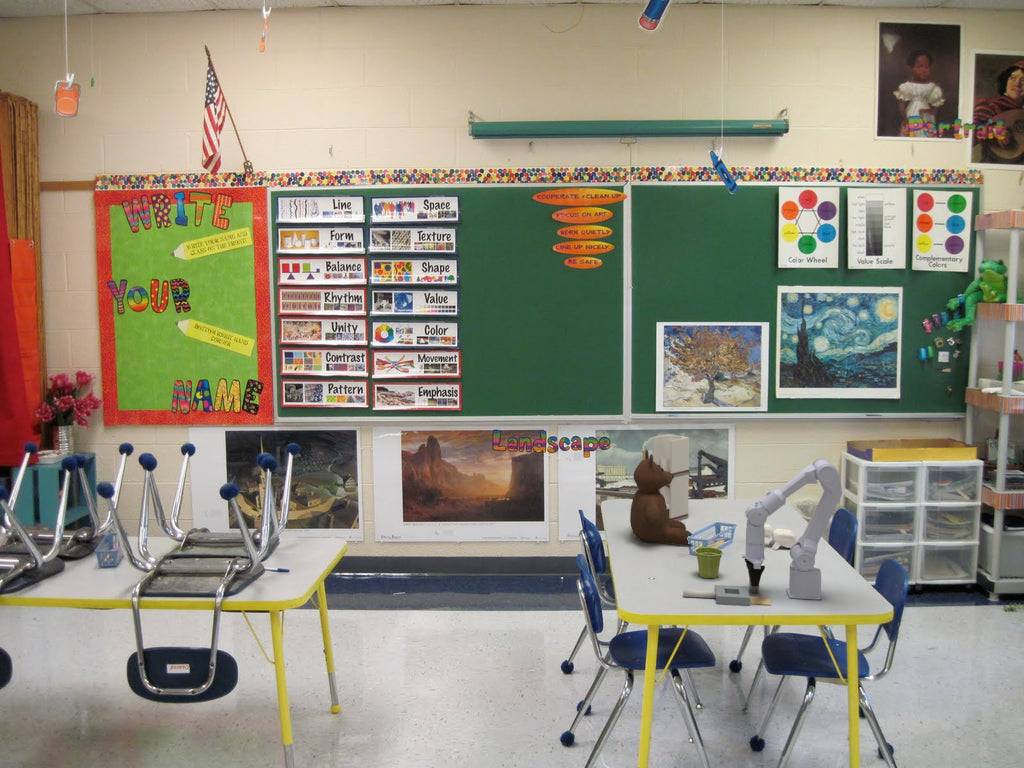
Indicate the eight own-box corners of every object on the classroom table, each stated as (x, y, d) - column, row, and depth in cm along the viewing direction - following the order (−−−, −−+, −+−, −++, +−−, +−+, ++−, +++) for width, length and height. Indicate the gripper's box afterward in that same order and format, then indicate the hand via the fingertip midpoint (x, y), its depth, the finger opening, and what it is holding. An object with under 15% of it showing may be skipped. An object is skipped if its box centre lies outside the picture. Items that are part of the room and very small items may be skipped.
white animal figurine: (791, 552, 321) (753, 536, 322) (800, 532, 319) (762, 516, 321) (795, 559, 312) (756, 543, 314) (804, 538, 311) (765, 522, 313)
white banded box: (668, 513, 366) (669, 434, 362) (688, 518, 358) (689, 437, 354) (651, 518, 359) (652, 437, 355) (670, 523, 351) (672, 440, 347)
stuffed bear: (698, 552, 312) (701, 459, 309) (637, 552, 312) (639, 459, 308) (681, 530, 341) (683, 445, 338) (625, 529, 341) (627, 445, 337)
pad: (768, 598, 264) (768, 597, 264) (771, 605, 258) (771, 604, 258) (749, 597, 265) (749, 596, 265) (751, 604, 259) (751, 603, 259)
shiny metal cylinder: (758, 591, 271) (758, 567, 270) (759, 594, 268) (759, 570, 267) (748, 590, 272) (749, 566, 271) (749, 593, 269) (750, 569, 268)
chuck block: (746, 594, 268) (746, 586, 268) (749, 605, 258) (750, 597, 258) (682, 590, 272) (682, 583, 271) (683, 602, 262) (683, 594, 262)
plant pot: (688, 575, 286) (689, 551, 285) (704, 569, 292) (704, 545, 291) (712, 582, 279) (713, 557, 278) (727, 575, 286) (728, 551, 285)
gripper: (740, 535, 276) (739, 575, 277) (744, 548, 262) (743, 590, 263) (762, 536, 275) (761, 576, 276) (767, 549, 260) (766, 592, 262)
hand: (754, 583), depth 269 cm, fingers open, 4 cm apart
